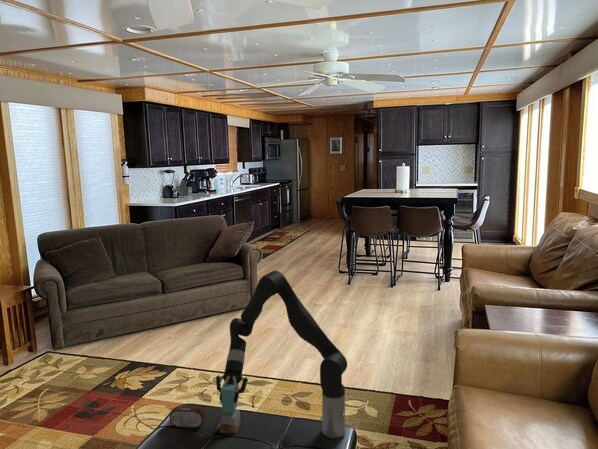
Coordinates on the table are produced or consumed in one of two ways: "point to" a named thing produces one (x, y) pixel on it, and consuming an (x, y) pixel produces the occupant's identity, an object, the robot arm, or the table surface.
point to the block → (228, 398)
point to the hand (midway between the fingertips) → (228, 402)
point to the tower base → (229, 428)
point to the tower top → (230, 418)
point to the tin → (187, 417)
